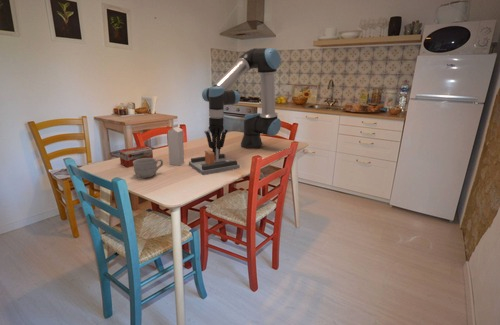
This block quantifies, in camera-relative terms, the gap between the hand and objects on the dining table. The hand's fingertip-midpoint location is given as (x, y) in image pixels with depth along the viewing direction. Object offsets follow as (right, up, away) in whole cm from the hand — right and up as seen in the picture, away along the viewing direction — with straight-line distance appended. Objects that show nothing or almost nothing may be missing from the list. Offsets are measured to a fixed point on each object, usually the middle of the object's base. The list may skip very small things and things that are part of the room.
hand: (216, 160), depth 155 cm
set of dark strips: (-1, -2, 0) cm, 2 cm away
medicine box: (-44, -2, +2) cm, 44 cm away
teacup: (-31, -8, -16) cm, 36 cm away
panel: (-1, -4, 0) cm, 4 cm away
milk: (-22, -2, +3) cm, 23 cm away
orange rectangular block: (-3, -2, -2) cm, 4 cm away
